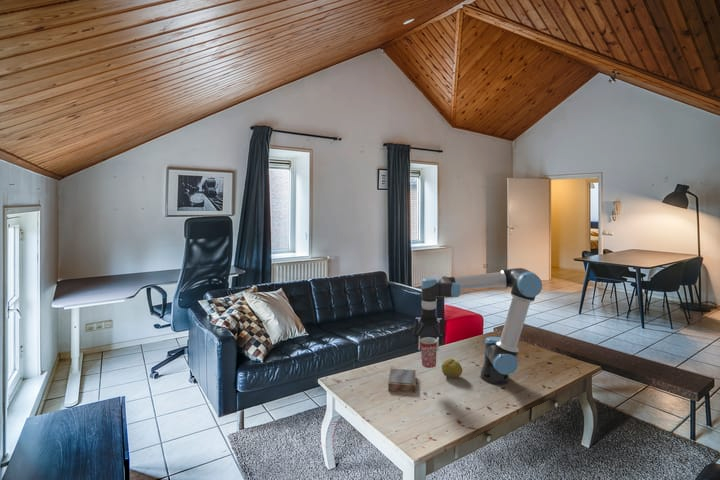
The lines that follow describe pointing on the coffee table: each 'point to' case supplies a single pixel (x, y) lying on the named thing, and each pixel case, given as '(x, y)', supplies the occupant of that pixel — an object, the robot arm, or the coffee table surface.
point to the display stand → (402, 380)
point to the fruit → (451, 368)
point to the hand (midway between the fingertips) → (428, 349)
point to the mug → (428, 352)
